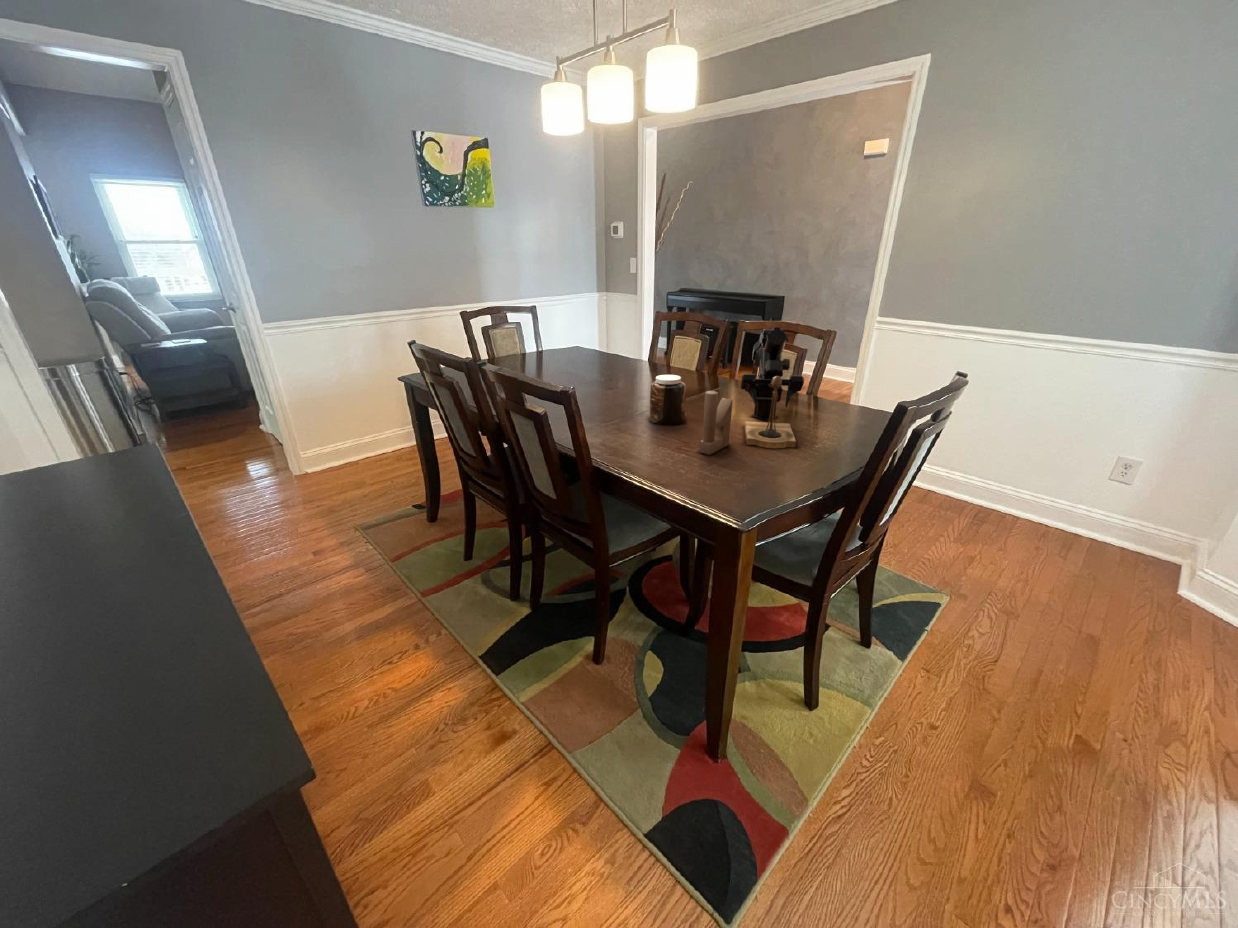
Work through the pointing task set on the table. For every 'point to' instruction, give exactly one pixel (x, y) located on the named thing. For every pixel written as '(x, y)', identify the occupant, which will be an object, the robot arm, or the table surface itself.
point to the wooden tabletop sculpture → (773, 408)
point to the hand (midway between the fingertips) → (771, 406)
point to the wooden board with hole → (755, 438)
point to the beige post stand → (715, 423)
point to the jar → (667, 400)
